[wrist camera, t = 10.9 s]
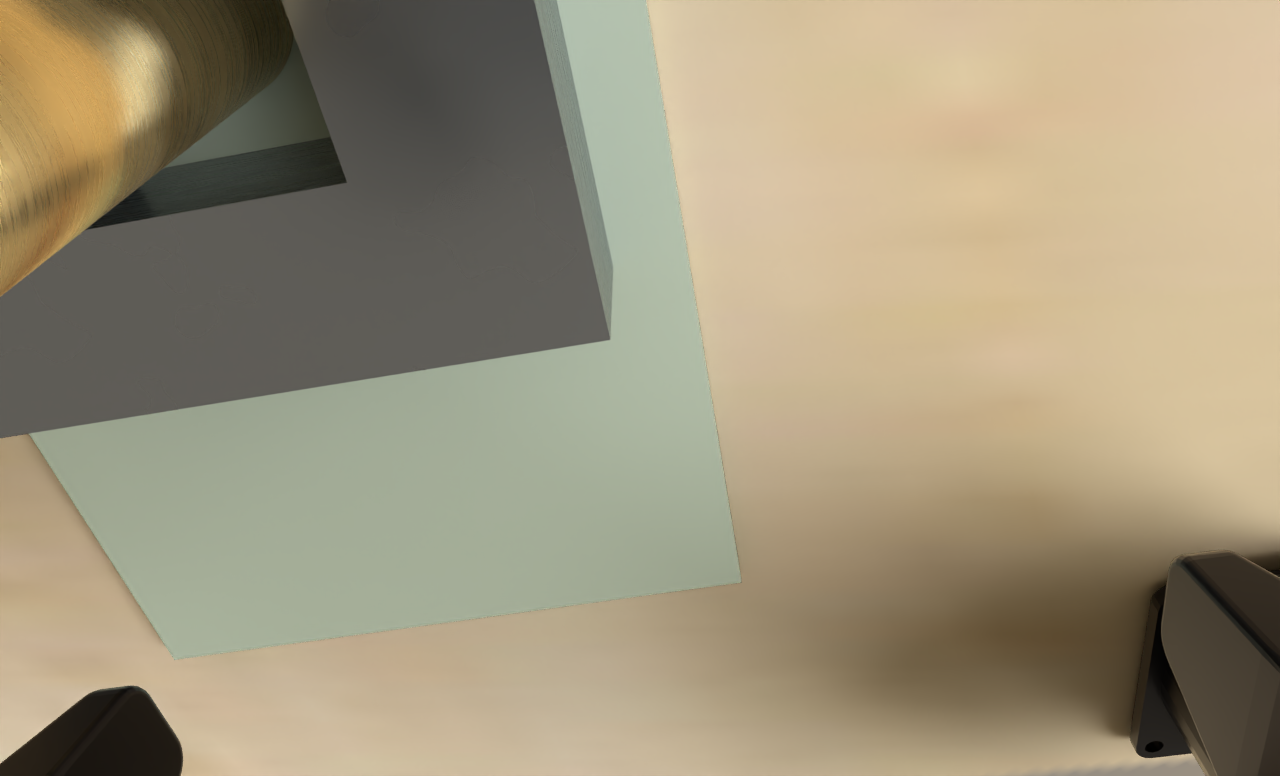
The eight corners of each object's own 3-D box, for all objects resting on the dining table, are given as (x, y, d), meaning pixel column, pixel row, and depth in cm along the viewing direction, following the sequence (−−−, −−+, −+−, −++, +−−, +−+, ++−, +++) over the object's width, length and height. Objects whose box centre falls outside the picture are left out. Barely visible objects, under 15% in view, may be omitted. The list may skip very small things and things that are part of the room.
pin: (319, 83, 17) (0, 373, 8) (161, 113, 17) (-307, 424, 9) (253, -103, 15) (-226, 19, 7) (81, -67, 15) (-591, 95, 7)
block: (612, 266, 19) (610, 340, 16) (54, 360, 20) (-31, 442, 17) (439, -552, 12) (390, -642, 10) (-368, -349, 13) (-602, -385, 11)
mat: (740, 571, 24) (741, 582, 23) (180, 648, 25) (174, 659, 25) (552, -568, 13) (550, -579, 12) (-434, -324, 14) (-461, -327, 14)
